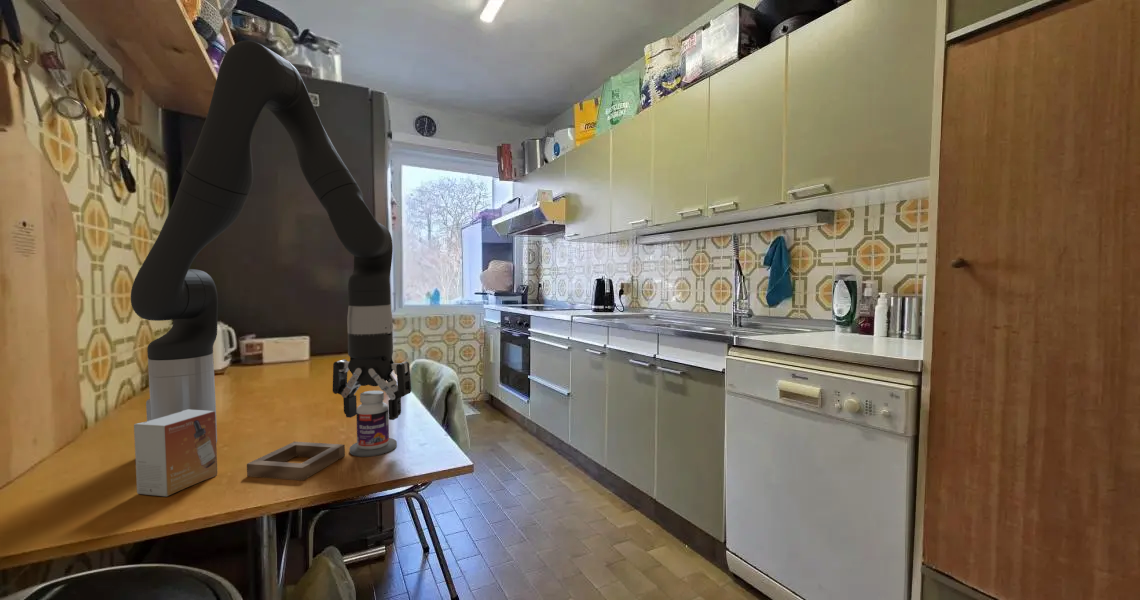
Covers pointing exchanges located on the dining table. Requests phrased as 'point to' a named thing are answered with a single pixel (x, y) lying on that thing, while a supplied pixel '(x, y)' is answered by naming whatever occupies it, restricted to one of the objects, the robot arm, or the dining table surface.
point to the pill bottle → (372, 421)
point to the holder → (280, 469)
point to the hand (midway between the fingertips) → (372, 417)
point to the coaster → (367, 453)
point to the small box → (175, 452)
